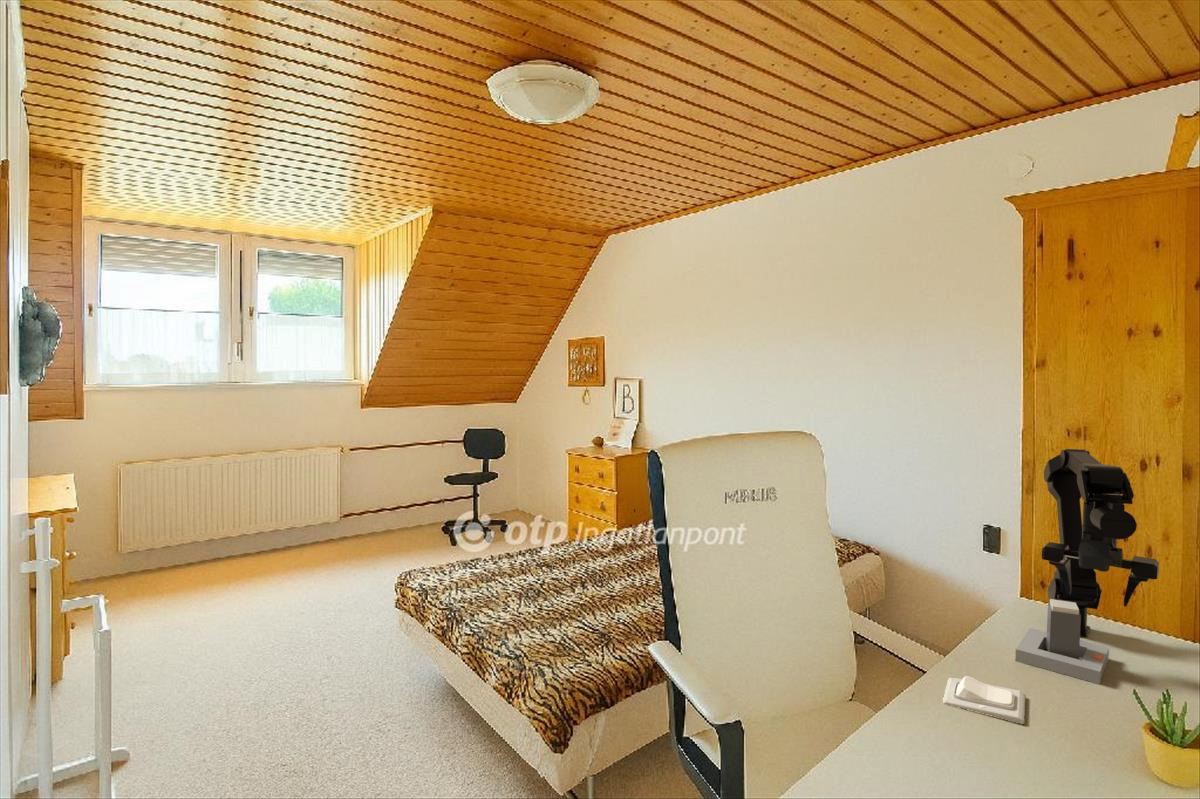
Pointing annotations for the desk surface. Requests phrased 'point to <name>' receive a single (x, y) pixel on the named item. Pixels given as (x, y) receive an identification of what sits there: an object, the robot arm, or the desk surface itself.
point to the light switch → (985, 698)
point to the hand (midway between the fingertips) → (1096, 600)
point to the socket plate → (1063, 657)
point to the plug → (1063, 628)
